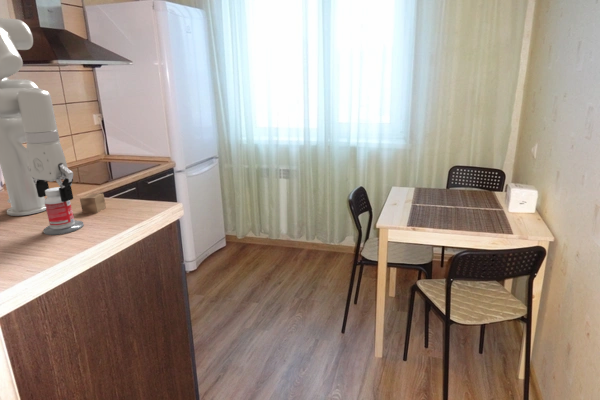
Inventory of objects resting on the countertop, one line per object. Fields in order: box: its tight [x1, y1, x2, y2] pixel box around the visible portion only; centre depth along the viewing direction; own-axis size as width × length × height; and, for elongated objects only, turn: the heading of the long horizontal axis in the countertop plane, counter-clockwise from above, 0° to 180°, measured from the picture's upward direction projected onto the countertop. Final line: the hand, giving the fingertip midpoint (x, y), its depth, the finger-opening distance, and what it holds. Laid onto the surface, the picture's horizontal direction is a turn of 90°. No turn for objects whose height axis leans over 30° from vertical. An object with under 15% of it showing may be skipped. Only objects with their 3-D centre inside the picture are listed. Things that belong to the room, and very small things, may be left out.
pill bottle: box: [44, 186, 75, 230], centre depth 113 cm, size 6×6×11 cm
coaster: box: [42, 219, 85, 236], centre depth 115 cm, size 10×10×1 cm
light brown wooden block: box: [79, 193, 107, 214], centre depth 130 cm, size 5×5×5 cm
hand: (55, 198), depth 113 cm, fingers open, 9 cm apart
